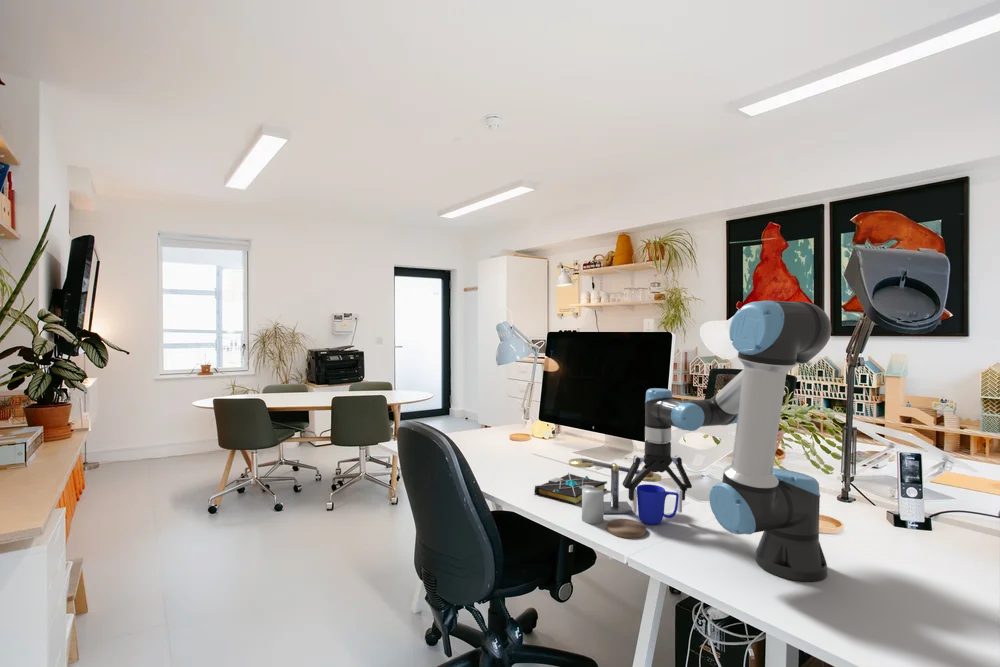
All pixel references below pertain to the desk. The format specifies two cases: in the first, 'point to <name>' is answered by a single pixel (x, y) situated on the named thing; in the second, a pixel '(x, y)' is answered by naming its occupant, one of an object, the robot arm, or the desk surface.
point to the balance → (614, 483)
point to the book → (567, 488)
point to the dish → (626, 528)
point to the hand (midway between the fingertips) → (656, 511)
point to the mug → (653, 503)
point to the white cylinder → (592, 505)
